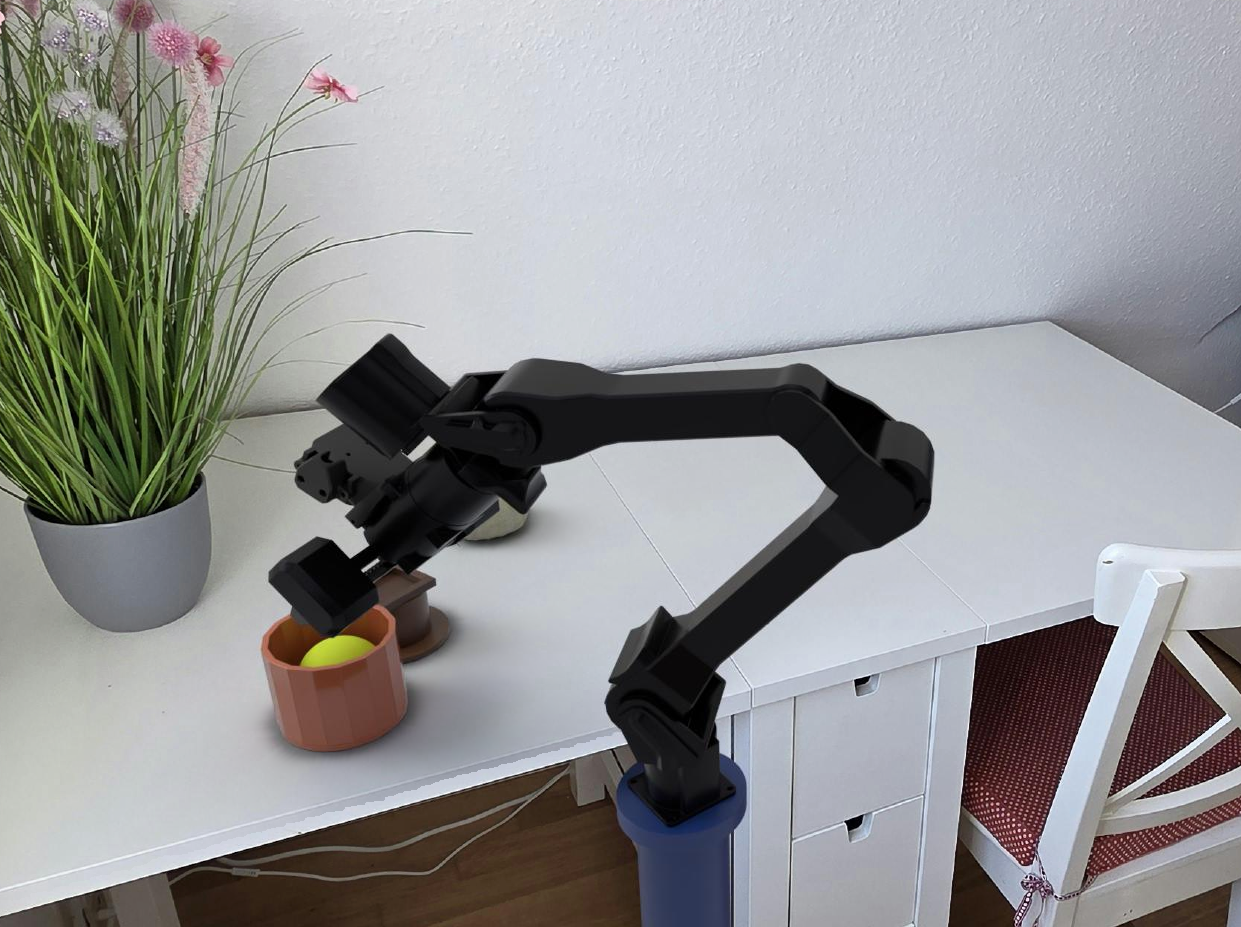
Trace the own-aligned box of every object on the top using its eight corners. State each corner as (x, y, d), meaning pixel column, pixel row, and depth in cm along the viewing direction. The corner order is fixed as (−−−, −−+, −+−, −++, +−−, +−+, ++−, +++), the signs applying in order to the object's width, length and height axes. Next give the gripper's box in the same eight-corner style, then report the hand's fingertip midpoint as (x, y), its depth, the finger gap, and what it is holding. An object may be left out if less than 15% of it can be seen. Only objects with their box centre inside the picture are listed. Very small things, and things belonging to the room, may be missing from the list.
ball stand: (471, 628, 113) (464, 575, 110) (390, 678, 106) (380, 622, 103) (402, 597, 116) (394, 545, 113) (319, 643, 109) (308, 589, 106)
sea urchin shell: (455, 542, 122) (431, 468, 123) (444, 564, 128) (422, 494, 129) (545, 520, 127) (521, 449, 128) (531, 542, 133) (509, 475, 134)
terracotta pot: (427, 719, 101) (414, 640, 98) (305, 768, 95) (286, 686, 91) (380, 663, 107) (367, 587, 103) (262, 707, 101) (243, 627, 97)
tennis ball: (287, 635, 96) (360, 666, 95) (344, 614, 102) (412, 643, 101) (270, 710, 97) (341, 741, 96) (327, 685, 104) (395, 714, 103)
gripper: (449, 357, 94) (350, 458, 101) (264, 459, 78) (162, 570, 85) (549, 468, 96) (444, 559, 103) (388, 589, 80) (278, 686, 87)
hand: (340, 588), depth 95 cm, fingers open, 9 cm apart
